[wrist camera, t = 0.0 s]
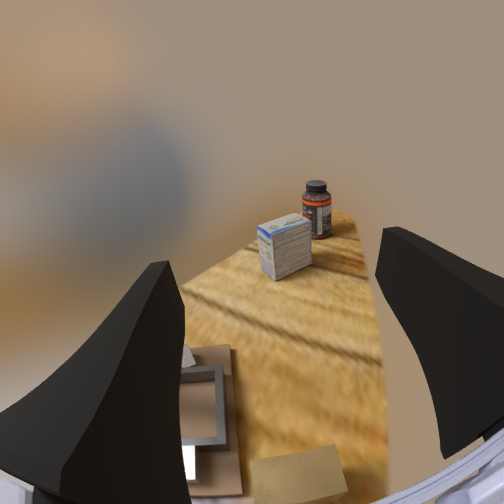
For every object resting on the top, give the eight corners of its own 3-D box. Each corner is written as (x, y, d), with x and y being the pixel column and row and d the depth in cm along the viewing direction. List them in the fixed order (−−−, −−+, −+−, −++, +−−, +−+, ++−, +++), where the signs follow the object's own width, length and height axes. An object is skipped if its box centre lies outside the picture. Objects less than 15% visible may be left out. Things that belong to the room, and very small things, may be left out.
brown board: (243, 495, 17) (238, 489, 16) (148, 494, 17) (134, 487, 15) (230, 349, 34) (226, 332, 32) (163, 355, 34) (155, 340, 32)
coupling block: (333, 503, 15) (348, 490, 12) (264, 516, 15) (255, 509, 12) (324, 467, 19) (334, 444, 15) (258, 480, 19) (249, 460, 15)
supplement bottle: (297, 232, 60) (295, 181, 54) (319, 225, 62) (318, 176, 56) (314, 243, 55) (313, 188, 50) (337, 235, 57) (337, 182, 52)
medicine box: (296, 255, 52) (294, 211, 48) (312, 265, 48) (311, 219, 44) (260, 270, 49) (255, 225, 45) (275, 282, 45) (271, 234, 41)
